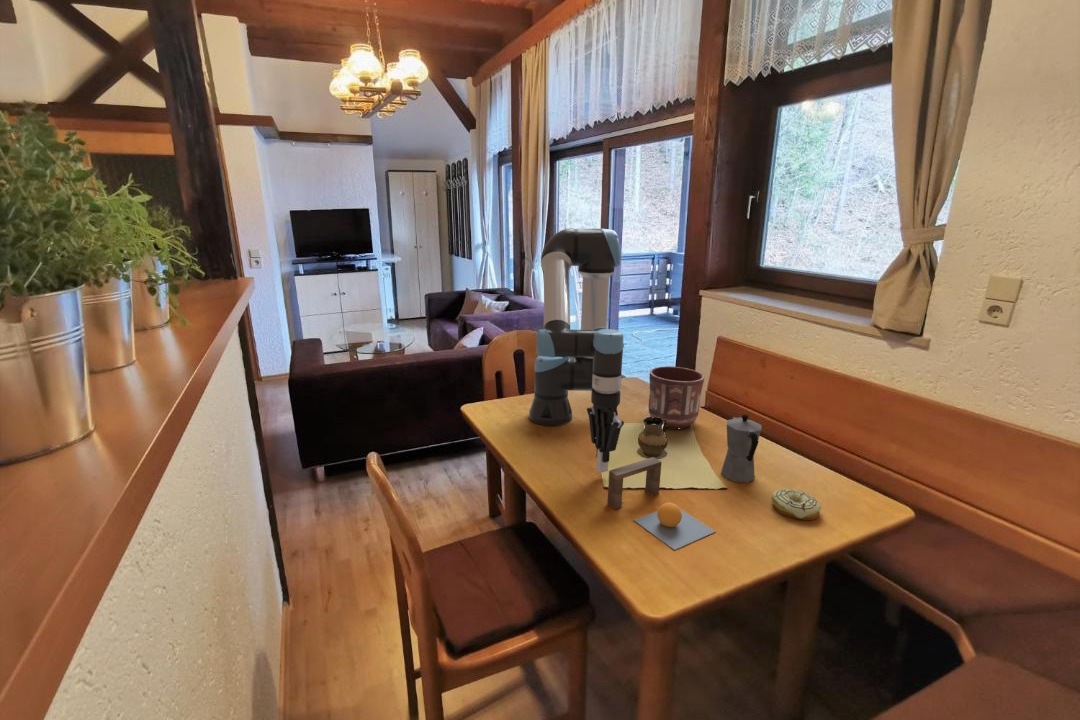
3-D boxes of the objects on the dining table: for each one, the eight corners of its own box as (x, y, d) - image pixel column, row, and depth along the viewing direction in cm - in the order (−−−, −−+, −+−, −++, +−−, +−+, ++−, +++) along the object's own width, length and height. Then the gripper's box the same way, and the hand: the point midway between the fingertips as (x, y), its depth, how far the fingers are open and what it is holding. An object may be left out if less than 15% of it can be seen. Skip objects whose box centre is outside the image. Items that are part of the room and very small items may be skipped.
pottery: (658, 435, 171) (663, 382, 166) (638, 415, 187) (642, 367, 182) (708, 431, 174) (714, 380, 169) (683, 412, 191) (688, 365, 186)
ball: (672, 528, 117) (657, 531, 121) (690, 522, 119) (674, 525, 124) (664, 504, 118) (649, 507, 123) (682, 498, 121) (667, 501, 125)
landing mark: (633, 520, 123) (634, 520, 123) (673, 505, 130) (673, 504, 130) (674, 550, 113) (674, 549, 113) (715, 532, 119) (715, 531, 119)
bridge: (607, 503, 130) (609, 470, 128) (650, 488, 138) (653, 457, 135) (615, 509, 128) (617, 475, 125) (658, 494, 135) (661, 461, 133)
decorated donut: (803, 528, 122) (806, 513, 121) (762, 507, 130) (764, 493, 129) (827, 514, 127) (829, 500, 126) (786, 494, 136) (788, 481, 135)
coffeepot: (713, 463, 152) (719, 405, 147) (745, 464, 152) (753, 406, 147) (731, 490, 137) (739, 427, 132) (767, 491, 137) (776, 427, 132)
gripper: (579, 384, 140) (577, 464, 146) (610, 399, 129) (606, 484, 136) (602, 380, 144) (598, 458, 150) (633, 394, 133) (628, 477, 139)
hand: (602, 470), depth 143 cm, fingers closed
